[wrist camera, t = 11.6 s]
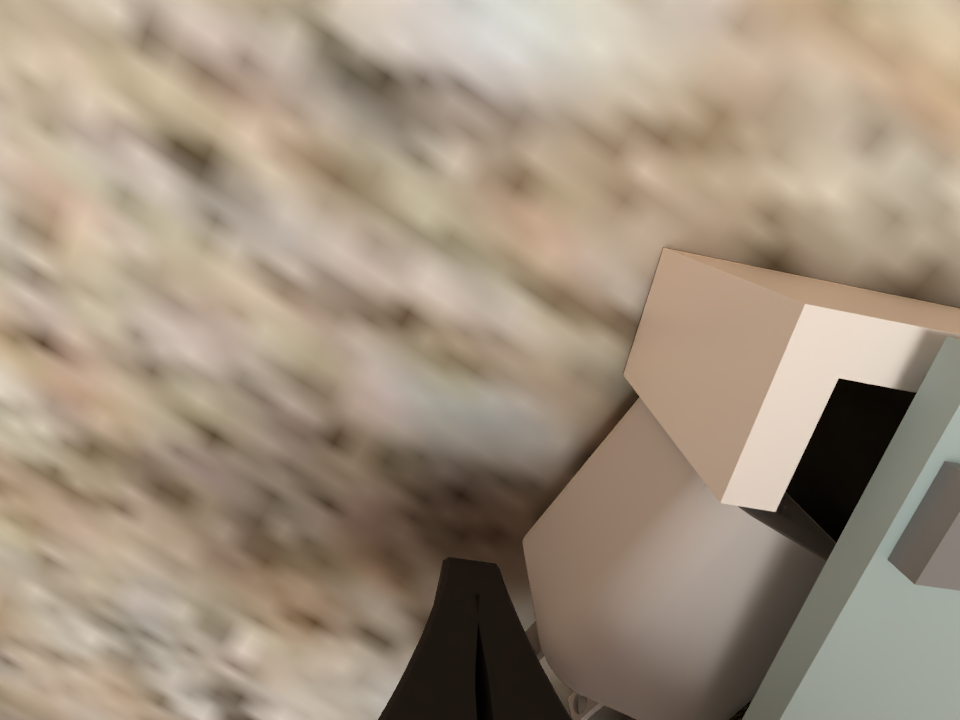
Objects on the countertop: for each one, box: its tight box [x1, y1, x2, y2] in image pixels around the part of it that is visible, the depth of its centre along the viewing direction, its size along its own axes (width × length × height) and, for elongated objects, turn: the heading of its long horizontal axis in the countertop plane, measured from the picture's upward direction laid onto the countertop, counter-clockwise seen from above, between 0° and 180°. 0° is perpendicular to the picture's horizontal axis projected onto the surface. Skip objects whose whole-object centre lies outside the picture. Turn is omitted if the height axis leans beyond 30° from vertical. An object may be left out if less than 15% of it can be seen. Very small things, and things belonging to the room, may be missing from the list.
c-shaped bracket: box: [623, 248, 960, 512], centre depth 11 cm, size 16×9×5 cm, turn 169°
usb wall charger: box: [523, 397, 836, 720], centre depth 11 cm, size 4×7×4 cm, turn 147°
